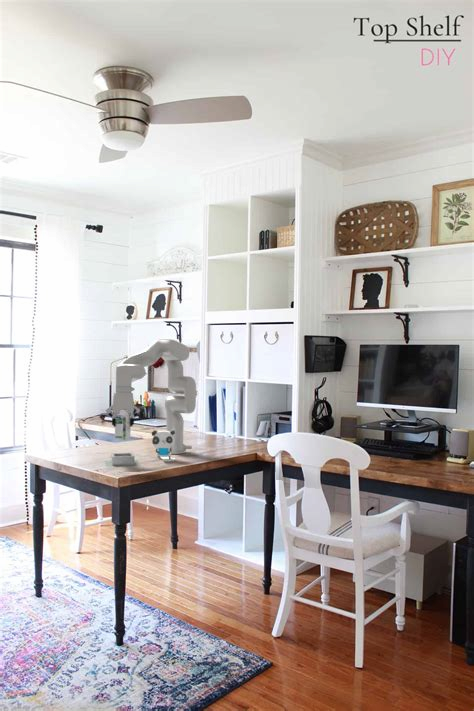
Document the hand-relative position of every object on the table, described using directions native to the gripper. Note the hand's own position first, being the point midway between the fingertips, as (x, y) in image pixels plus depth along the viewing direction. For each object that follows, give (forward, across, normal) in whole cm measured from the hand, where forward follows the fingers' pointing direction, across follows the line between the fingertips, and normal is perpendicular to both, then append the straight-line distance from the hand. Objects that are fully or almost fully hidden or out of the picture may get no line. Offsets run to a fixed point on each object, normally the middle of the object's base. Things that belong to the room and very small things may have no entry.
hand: (122, 426), depth 292 cm
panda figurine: (+20, -22, -15) cm, 33 cm away
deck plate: (+19, 0, 0) cm, 19 cm away
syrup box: (+6, 0, 0) cm, 6 cm away
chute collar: (+18, 0, 0) cm, 18 cm away
